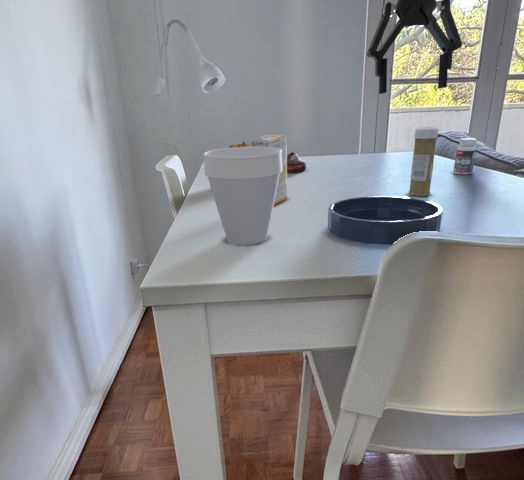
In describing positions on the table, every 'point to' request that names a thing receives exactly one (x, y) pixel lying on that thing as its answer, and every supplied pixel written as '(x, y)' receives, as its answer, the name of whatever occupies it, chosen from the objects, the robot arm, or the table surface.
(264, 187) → the white flower pot
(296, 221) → the table surface
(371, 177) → the table surface
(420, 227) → the dark blue round dish
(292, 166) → the pastry
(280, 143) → the supplement box
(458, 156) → the pill bottle
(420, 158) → the sprinkles bottle
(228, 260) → the table surface
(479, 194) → the table surface
